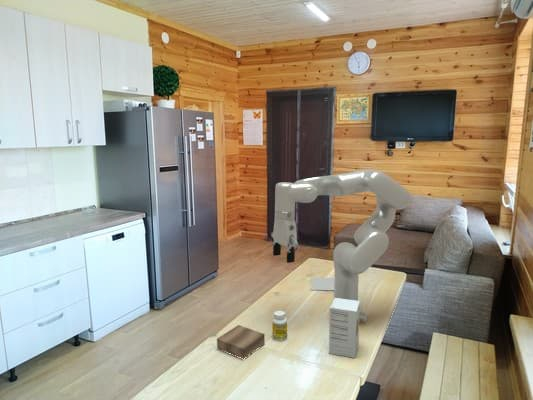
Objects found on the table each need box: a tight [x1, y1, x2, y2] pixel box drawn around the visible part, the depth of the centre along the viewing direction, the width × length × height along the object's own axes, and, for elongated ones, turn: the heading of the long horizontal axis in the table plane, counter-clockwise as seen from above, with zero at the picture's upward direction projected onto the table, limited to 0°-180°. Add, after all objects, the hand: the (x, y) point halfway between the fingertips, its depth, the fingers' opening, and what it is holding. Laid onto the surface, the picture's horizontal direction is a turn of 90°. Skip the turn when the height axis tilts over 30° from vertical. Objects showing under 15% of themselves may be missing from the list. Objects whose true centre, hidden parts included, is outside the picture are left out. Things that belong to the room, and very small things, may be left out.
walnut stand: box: [216, 324, 266, 359], centre depth 137 cm, size 12×12×4 cm
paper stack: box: [310, 276, 335, 291], centre depth 189 cm, size 23×25×1 cm
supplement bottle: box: [271, 310, 288, 342], centre depth 142 cm, size 6×6×10 cm
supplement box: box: [328, 297, 361, 359], centre depth 133 cm, size 10×9×17 cm
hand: (283, 258), depth 148 cm, fingers open, 9 cm apart
